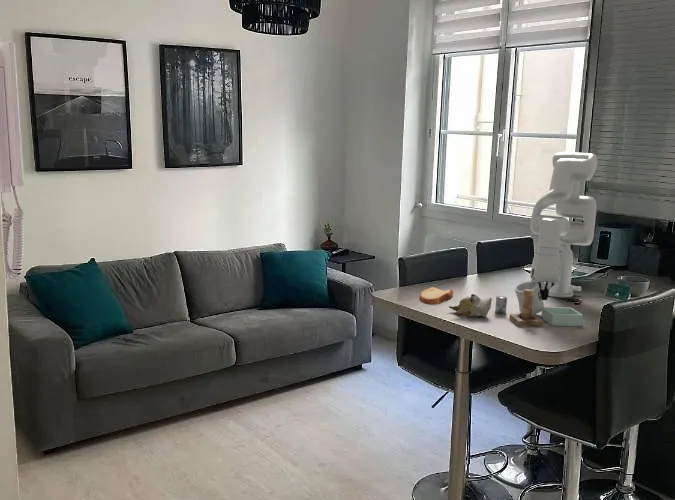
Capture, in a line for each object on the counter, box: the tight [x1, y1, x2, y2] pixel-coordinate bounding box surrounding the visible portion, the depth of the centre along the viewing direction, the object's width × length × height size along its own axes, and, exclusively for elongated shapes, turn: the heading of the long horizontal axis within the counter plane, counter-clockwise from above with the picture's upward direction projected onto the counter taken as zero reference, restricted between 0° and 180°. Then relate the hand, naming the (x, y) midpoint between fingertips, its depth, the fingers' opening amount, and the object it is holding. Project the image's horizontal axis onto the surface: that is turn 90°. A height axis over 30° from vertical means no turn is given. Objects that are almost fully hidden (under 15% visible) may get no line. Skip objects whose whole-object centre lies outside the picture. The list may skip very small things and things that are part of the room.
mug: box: [514, 280, 545, 315], centre depth 248 cm, size 12×9×10 cm
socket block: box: [509, 313, 544, 328], centre depth 236 cm, size 9×9×2 cm
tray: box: [540, 306, 584, 327], centre depth 239 cm, size 11×10×4 cm
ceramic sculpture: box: [448, 293, 493, 318], centre depth 242 cm, size 11×9×15 cm
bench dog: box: [494, 295, 508, 315], centre depth 248 cm, size 4×4×6 cm
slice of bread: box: [419, 286, 454, 306], centre depth 268 cm, size 18×18×4 cm
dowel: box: [520, 289, 534, 320], centre depth 235 cm, size 4×4×12 cm
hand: (543, 299), depth 248 cm, fingers closed
